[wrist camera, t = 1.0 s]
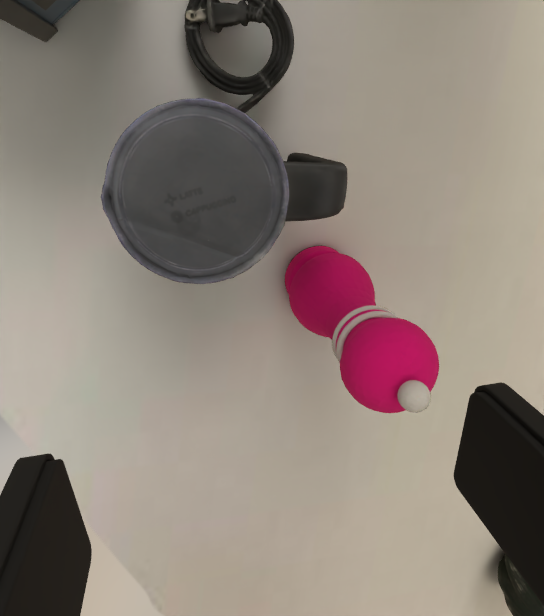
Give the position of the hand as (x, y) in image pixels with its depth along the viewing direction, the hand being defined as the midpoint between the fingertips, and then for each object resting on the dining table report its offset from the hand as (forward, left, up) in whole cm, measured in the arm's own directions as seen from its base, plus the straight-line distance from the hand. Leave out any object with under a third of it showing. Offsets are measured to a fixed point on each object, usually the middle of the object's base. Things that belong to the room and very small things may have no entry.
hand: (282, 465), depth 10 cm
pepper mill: (-4, +12, -30) cm, 32 cm away
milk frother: (-5, -5, -30) cm, 30 cm away
